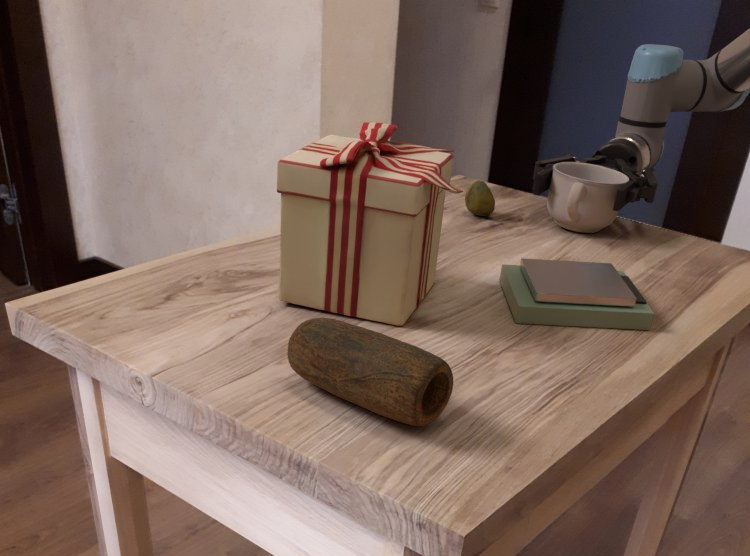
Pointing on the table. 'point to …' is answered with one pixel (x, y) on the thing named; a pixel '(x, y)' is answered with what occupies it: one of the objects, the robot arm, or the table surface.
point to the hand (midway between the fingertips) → (576, 192)
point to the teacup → (583, 196)
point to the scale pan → (576, 282)
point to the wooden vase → (371, 370)
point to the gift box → (362, 223)
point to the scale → (571, 307)
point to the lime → (480, 199)
